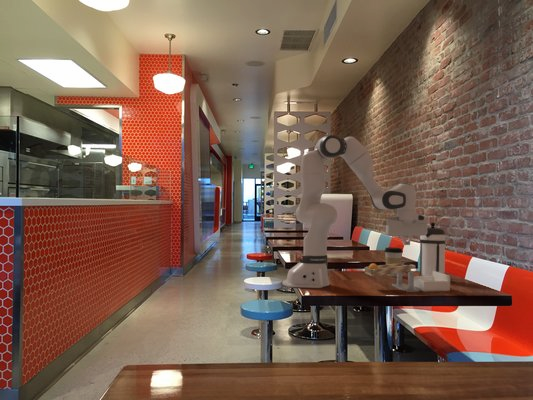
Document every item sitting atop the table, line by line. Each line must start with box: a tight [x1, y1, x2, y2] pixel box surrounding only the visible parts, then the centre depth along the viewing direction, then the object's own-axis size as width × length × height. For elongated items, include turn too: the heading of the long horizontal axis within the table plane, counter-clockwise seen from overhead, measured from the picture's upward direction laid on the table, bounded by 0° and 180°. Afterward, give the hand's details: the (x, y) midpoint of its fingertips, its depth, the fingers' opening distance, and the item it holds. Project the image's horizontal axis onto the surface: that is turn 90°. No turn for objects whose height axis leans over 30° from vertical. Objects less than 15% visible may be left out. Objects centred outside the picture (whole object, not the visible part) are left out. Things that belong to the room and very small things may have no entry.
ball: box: [368, 263, 379, 269], centre depth 191 cm, size 4×4×4 cm
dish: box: [414, 271, 451, 292], centre depth 195 cm, size 13×14×7 cm
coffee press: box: [418, 222, 447, 276], centre depth 219 cm, size 17×16×30 cm
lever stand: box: [391, 271, 420, 293], centre depth 194 cm, size 6×15×8 cm, turn 8°
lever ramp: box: [364, 261, 416, 277], centre depth 197 cm, size 25×16×4 cm, turn 98°
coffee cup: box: [384, 247, 404, 278], centre depth 229 cm, size 10×10×15 cm
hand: (406, 245), depth 203 cm, fingers closed
